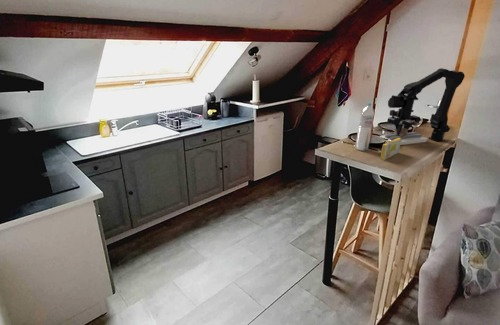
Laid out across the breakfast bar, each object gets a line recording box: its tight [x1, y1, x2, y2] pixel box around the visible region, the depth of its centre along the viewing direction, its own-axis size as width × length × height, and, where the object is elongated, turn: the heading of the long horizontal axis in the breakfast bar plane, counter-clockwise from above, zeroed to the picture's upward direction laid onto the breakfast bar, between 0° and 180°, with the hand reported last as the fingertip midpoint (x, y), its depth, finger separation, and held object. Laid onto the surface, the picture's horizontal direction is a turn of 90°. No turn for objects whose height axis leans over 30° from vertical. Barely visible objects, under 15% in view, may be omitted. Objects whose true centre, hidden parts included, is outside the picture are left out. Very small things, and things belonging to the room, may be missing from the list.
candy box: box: [380, 138, 401, 161], centre depth 149 cm, size 16×2×8 cm, turn 129°
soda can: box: [369, 124, 374, 143], centre depth 166 cm, size 7×7×12 cm
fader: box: [394, 127, 409, 136], centre depth 171 cm, size 4×5×5 cm
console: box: [379, 131, 428, 146], centre depth 173 cm, size 24×12×4 cm, turn 108°
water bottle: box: [354, 103, 376, 152], centre depth 154 cm, size 7×7×25 cm
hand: (400, 133), depth 171 cm, fingers closed on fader, 4 cm apart
